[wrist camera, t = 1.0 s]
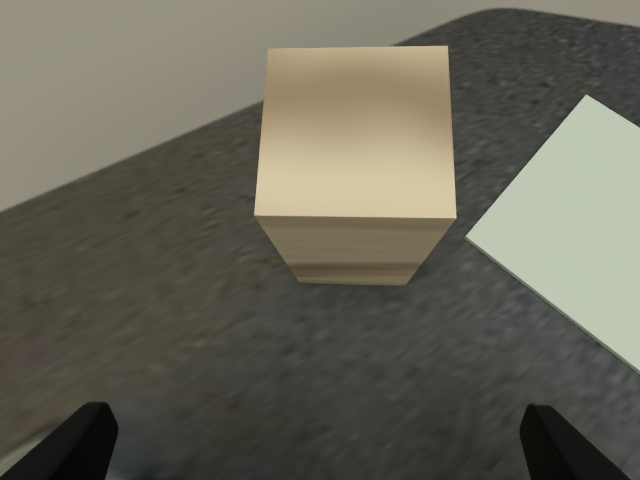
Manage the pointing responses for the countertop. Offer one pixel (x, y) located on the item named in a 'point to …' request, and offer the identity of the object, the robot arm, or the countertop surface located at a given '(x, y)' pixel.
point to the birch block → (356, 161)
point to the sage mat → (577, 226)
